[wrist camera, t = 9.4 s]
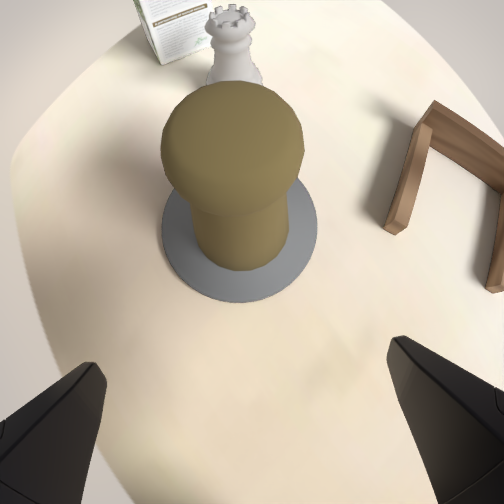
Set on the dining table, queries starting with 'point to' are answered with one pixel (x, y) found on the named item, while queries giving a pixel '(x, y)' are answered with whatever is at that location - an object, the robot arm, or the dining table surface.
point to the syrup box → (175, 26)
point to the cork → (234, 169)
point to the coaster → (240, 282)
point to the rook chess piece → (231, 45)
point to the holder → (463, 153)
